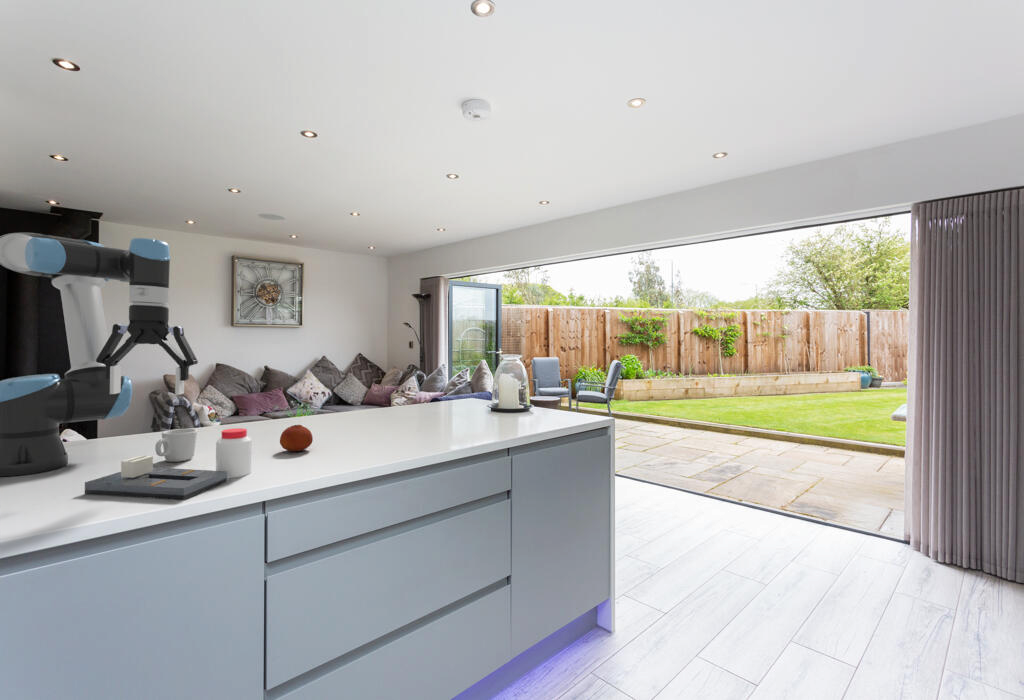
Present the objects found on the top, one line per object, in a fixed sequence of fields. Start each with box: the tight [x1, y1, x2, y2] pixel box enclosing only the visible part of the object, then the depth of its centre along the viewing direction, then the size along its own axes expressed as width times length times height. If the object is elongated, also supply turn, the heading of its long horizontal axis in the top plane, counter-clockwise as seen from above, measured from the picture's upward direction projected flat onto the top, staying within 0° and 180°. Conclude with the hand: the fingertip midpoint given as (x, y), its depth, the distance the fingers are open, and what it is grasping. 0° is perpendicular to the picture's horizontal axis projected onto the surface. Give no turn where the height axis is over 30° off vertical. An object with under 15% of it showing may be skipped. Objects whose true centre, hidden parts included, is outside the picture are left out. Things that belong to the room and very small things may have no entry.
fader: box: [120, 455, 154, 478], centre depth 107 cm, size 4×5×5 cm
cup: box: [154, 428, 198, 463], centre depth 129 cm, size 11×8×8 cm
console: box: [84, 466, 228, 501], centre depth 107 cm, size 23×13×3 cm, turn 84°
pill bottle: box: [215, 427, 253, 479], centre depth 119 cm, size 8×8×11 cm
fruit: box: [279, 424, 314, 453], centre depth 144 cm, size 9×9×8 cm
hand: (147, 393), depth 113 cm, fingers open, 13 cm apart
